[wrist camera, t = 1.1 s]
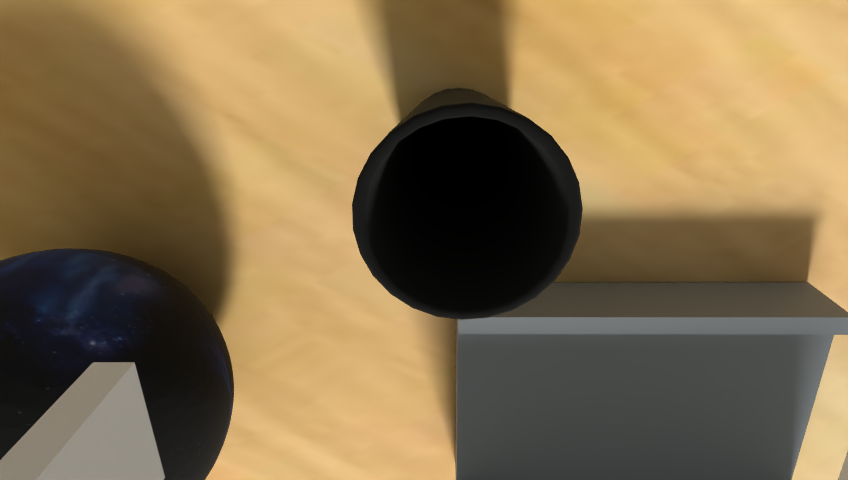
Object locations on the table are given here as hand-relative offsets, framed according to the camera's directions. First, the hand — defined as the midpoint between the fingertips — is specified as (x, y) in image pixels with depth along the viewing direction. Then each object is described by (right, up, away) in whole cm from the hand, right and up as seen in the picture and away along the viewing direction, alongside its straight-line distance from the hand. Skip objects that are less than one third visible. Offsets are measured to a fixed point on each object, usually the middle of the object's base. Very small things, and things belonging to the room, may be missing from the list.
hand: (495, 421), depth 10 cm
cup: (0, +9, +20) cm, 22 cm away
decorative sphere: (-18, -2, +25) cm, 31 cm away
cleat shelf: (+11, -5, +25) cm, 28 cm away
